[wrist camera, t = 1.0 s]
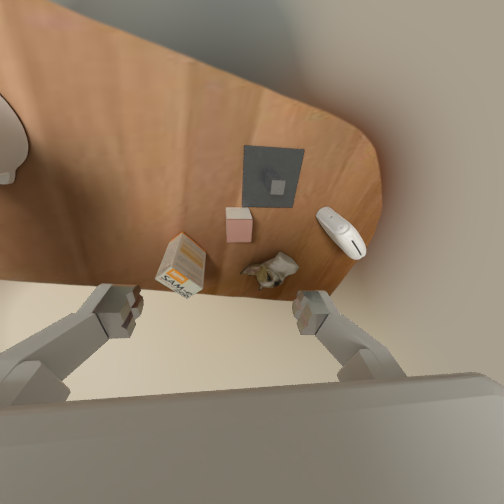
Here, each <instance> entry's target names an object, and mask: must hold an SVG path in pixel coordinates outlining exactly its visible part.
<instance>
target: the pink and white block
mask: <svg viewBox="0 0 504 504" xmlns="http://www.w3.org/2000/svg"><path fill="white" fill-rule="evenodd" d="M252 223H253V219H252V216H251V213H250V211H249V208H235V207H226V234H227V242H251V236H252Z"/></svg>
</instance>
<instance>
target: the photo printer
mask: <svg viewBox="0 0 504 504" xmlns="http://www.w3.org/2000/svg"><path fill="white" fill-rule="evenodd" d="M316 218H317V220H318V221H319V223H320V224H321V226H322V227H323V229H324V230H325V231H326V233H327V234H328V235H329V236H330V238H331V239H332V240H333V241H334V242H335V243H336V244H337V245H338V246H339V247H340V248H341V249H342V250H343V251H344V252H345V253H346V254H347V255H348V256H349V257H350V258H352V259H356V260H357V259H360V258H361V257H364V256H365V254H366V247H365V244H364V242H363V240H362V238H361V236H360V235H359V233H358V232H357V230H356V229H355V228H354V227H353V226H352V225H351V224H350V223H349V222H348V221H346V220H345V219H344V218H342V217H341V216H340V215H339V214H337V213H336V212H335V211H333V210H332V209H331V208H330V207H323V208H321V209H320V210H319V211H318V212H317V215H316Z"/></svg>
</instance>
